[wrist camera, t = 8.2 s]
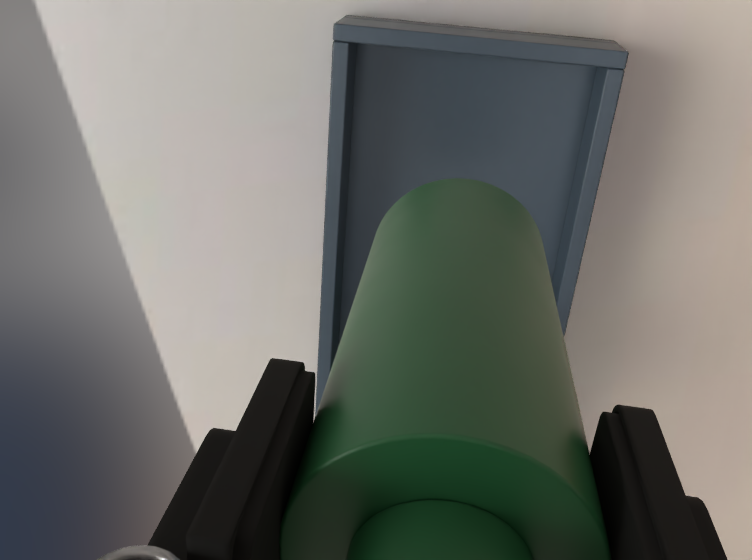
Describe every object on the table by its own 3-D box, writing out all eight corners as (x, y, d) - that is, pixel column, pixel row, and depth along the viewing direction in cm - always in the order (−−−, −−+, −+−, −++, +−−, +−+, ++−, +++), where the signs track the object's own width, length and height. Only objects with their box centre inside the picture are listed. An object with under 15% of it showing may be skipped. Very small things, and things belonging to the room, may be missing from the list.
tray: (346, 14, 27) (333, 23, 25) (614, 40, 27) (629, 51, 24) (313, 617, 43) (303, 659, 40) (483, 644, 42) (484, 690, 39)
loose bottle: (379, 168, 18) (198, 615, 6) (558, 188, 18) (728, 702, 6) (366, 322, 20) (211, 881, 8) (527, 343, 20) (607, 958, 8)
